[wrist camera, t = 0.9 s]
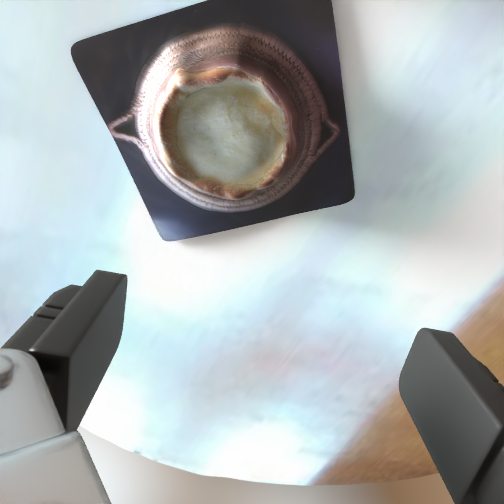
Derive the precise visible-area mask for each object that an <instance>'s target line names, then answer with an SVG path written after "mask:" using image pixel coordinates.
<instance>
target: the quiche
mask: <svg viewBox="0 0 504 504" xmlns="http://www.w3.org/2000/svg"><path fill="white" fill-rule="evenodd" d="M71 55H72V58H73V61H74V63H75V65H76V67H77V69H78V71H79V73H80V75H81V77H82V79H83V81H84V83H85V85H86V87H87V89H88V91H89V93H90V95H91V97H92V99H93V100H94V102H95V104H96V106H97V108H98V110H99V112H100V114H101V116H102V118H103V120H104V121H105V123H106V125H107V127H108V129H109V131H110V133H111V134H112V136H113V138H114V140H115V142H116V144H117V146H118V148H119V150H120V152H121V155H122V157H123V159H124V161H125V163H126V165H127V167H128V169H129V171H130V173H131V176H132V178H133V180H134V182H135V184H136V186H137V188H138V190H139V192H140V195H141V197H142V199H143V201H144V203H145V205H146V207H147V209H148V212H149V214H150V216H151V218H152V220H153V222H154V224H155V226H156V229H157V231H158V233H159V234H160V236H161V238H162V239H163V240H165V241H176V240H182V239H187V238H192V237H197V236H202V235H207V234H212V233H217V232H221V231H226V230H230V229H235V228H239V227H244V226H248V225H252V224H257V223H261V222H265V221H269V220H274V219H278V218H282V217H286V216H290V215H294V214H299V213H303V212H308V211H313V210H318V209H323V208H327V207H332V206H337V205H341V204H344V203H347V202H349V201H351V200H352V199H353V198H354V195H355V189H354V180H353V171H352V162H351V154H350V145H349V136H348V128H347V120H346V112H345V104H344V95H343V87H342V79H341V71H340V63H339V55H338V47H337V39H336V31H335V23H334V16H333V9H332V2H331V0H207V1H204V2H201V3H198V4H195V5H191V6H188V7H185V8H182V9H179V10H175V11H172V12H169V13H166V14H163V15H159V16H156V17H153V18H150V19H147V20H143V21H140V22H137V23H134V24H131V25H127V26H124V27H121V28H118V29H115V30H112V31H108V32H105V33H102V34H99V35H96V36H93V37H89V38H86V39H83V40H80V41H78V42H76V43H75V44H73V46H72V47H71Z"/></svg>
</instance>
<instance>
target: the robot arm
mask: <svg viewBox="0 0 504 504" xmlns="http://www.w3.org/2000/svg"><path fill="white" fill-rule="evenodd" d="M126 292H127V275H125V274H119V273H113V272H107V271H102V270H96V271H95V272H94V273H93V274H92V276H91V277H90V278H89V279H88V280H87V282H86V283H85V284H84V285H83V286H77V285H69V286H67V287H65V288H63V289H61V290H58V291H56V292H54V293H53V294H52V295H51V296H50V297H49V298H48V299H47V300H46V301H45V302H44V303H43V306H41V307H40V308H39V309H38V310H37V311H36V312H35V313H34V315H33V316H31V317H30V318H29V319H28V320H27V321H26V322H25V323H24V324H23V325H22V326H21V327H20V328H19V329H18V331H17V332H16V333H15V334H14V335H13V336H12V337H11V338H10V339H9V340H8V341H7V342H6V343H5V344H4V345H3V346H2V347H1V348H0V504H111V502H110V499H109V497H108V495H107V493H106V490H105V488H104V486H103V484H102V481H101V479H100V477H99V474H98V472H97V470H96V468H95V465H94V463H93V461H92V458H91V456H90V454H89V451H88V449H87V447H86V445H85V442H84V440H83V438H82V436H81V435H80V433H79V432H78V431H77V428H78V426H79V424H80V422H81V420H82V418H83V416H84V414H85V412H86V410H87V408H88V406H89V405H90V403H91V401H92V399H93V397H94V395H95V393H96V391H97V389H98V387H99V385H100V383H101V381H102V379H103V377H104V375H105V373H106V371H107V369H108V367H109V365H110V363H111V361H112V359H113V357H114V355H115V353H116V351H117V348H118V346H119V343H120V339H121V335H122V330H123V322H124V312H125V302H126ZM399 391H400V395H401V398H402V400H403V402H404V404H405V406H406V408H407V410H408V412H409V414H410V416H411V418H412V420H413V421H414V423H415V425H416V427H417V429H418V431H419V433H420V435H421V437H422V439H423V441H424V443H425V445H426V447H427V449H428V451H429V453H430V455H431V457H432V459H433V461H434V463H435V465H436V467H437V469H438V471H439V473H440V475H441V477H442V479H443V481H444V483H445V485H446V487H447V489H448V491H449V493H450V495H451V497H452V499H453V501H454V503H455V504H504V386H503V385H502V384H500V383H498V380H497V378H496V377H495V376H494V375H493V374H492V373H491V371H490V370H489V369H488V368H487V367H486V366H485V365H483V364H482V363H481V362H480V361H478V360H477V359H476V358H474V357H473V356H472V355H471V354H470V353H469V351H468V350H467V349H466V348H465V347H464V346H463V344H462V343H461V342H460V341H459V340H458V338H457V337H456V336H455V335H454V334H453V333H451V332H446V331H440V330H435V329H429V328H422V329H420V330H419V331H418V333H417V335H416V337H415V339H414V342H413V344H412V347H411V349H410V351H409V354H408V356H407V359H406V361H405V364H404V366H403V369H402V371H401V374H400V378H399Z"/></svg>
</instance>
